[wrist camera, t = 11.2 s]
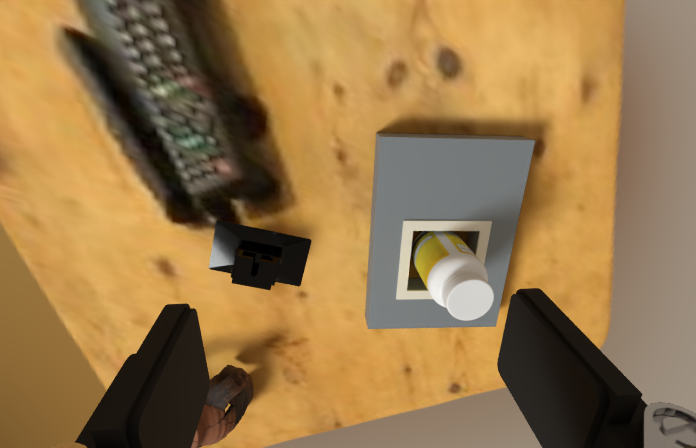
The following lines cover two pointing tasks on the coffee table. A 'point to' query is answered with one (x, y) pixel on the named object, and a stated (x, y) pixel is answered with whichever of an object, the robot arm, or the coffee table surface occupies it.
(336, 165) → the coffee table surface
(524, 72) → the coffee table surface
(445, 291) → the supplement bottle
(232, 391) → the pottery mug
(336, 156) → the coffee table surface
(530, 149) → the board
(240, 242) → the black stand
